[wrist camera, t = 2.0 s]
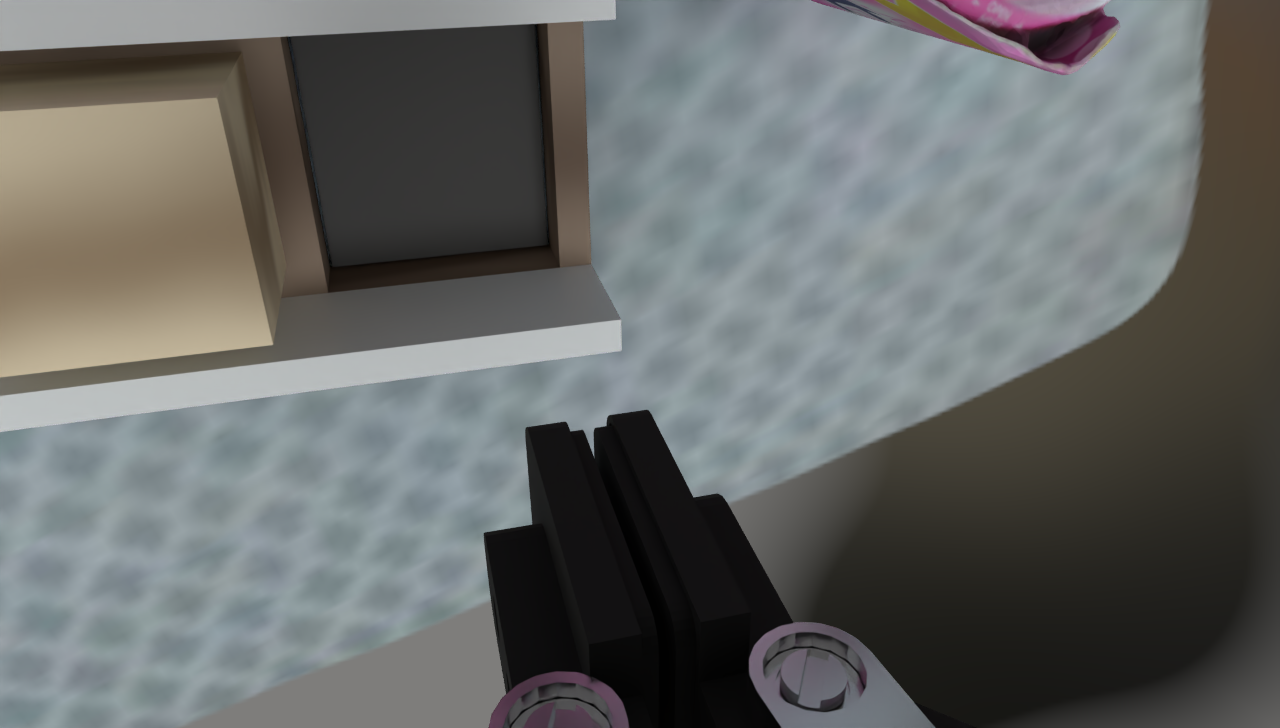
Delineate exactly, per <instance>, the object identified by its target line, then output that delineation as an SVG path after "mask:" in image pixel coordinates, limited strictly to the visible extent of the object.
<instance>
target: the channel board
mask: <svg viewBox="0 0 1280 728" xmlns="http://www.w3.org/2000/svg"><path fill="white" fill-rule="evenodd" d="M598 20H616V3H615V0H0V65H5V64H23V63H42V62H60V61H79V60H97V59H116V58H134V57H153V56H171V55H189V54H208V53H226V52H242V55H243V60H244V65H245V70H246V74H247V79H248V84H249V89H250V94H251V98H252V103H253V108H254V113H255V117H256V122H257V127H258V132H259V137H260V141H261V146H262V151H263V156H264V160H265V165H266V170H267V175H268V180H269V184H270V189H271V194H272V199H273V203H274V208H275V213H276V218H277V223H278V227H279V232H280V237H281V242H282V246H283V251H284V256H285V261H286V272H285V277H284V283H283V289H282V295H281V301H280V307H279V313H278V319H277V325H276V331H275V337H274V343H273V345H269V346H260V347H252V348H243V349H235V350H227V351H218V352H210V353H201V354H193V355H185V356H176V357H168V358H159V359H151V360H143V361H134V362H126V363H118V364H109V365H101V366H92V367H84V368H76V369H67V370H59V371H50V372H42V373H34V374H25V375H17V376H8V377H0V432H3V431H11V430H19V429H26V428H34V427H42V426H49V425H57V424H65V423H72V422H80V421H88V420H95V419H103V418H111V417H118V416H126V415H134V414H141V413H149V412H157V411H164V410H172V409H180V408H187V407H195V406H203V405H210V404H218V403H226V402H233V401H241V400H249V399H256V398H264V397H272V396H279V395H287V394H295V393H302V392H310V391H318V390H325V389H333V388H341V387H348V386H356V385H364V384H371V383H379V382H387V381H394V380H402V379H410V378H417V377H425V376H433V375H440V374H448V373H456V372H463V371H471V370H479V369H486V368H494V367H502V366H509V365H517V364H525V363H532V362H540V361H548V360H555V359H563V358H571V357H578V356H586V355H594V354H601V353H609V352H617V351H622V345H621V319H620V317H619V315H618V313H617V311H616V309H615V307H614V306H613V304H612V302H611V300H610V298H609V296H608V294H607V293H606V291H605V289H604V287H603V285H602V283H601V281H600V280H599V278H598V276H597V274H596V272H595V270H594V268H593V267H592V265H591V242H590V213H589V184H588V154H587V125H586V96H585V66H584V37H583V21H598ZM535 24H537V41H538V59H539V76H540V93H541V111H542V128H543V145H544V163H545V180H546V197H547V215H548V232H549V244H547V227H546V210H545V192H544V175H543V158H542V141H541V124H540V107H539V90H538V73H537V56H536V39H535ZM288 36H290V38H291V43H292V48H293V54H294V59H295V65H296V70H297V76H298V81H299V87H300V92H301V98H302V103H303V109H304V114H305V120H306V125H307V130H308V136H309V141H310V147H311V152H312V158H313V163H314V169H315V174H316V180H317V185H318V191H319V196H320V201H321V207H322V212H323V218H324V223H325V229H326V234H327V240H328V245H329V251H330V256H331V262H332V267H330V264H329V259H328V253H327V248H326V242H325V237H324V231H323V226H322V221H321V215H320V210H319V204H318V199H317V194H316V188H315V183H314V177H313V172H312V166H311V161H310V156H309V150H308V145H307V139H306V134H305V128H304V123H303V118H302V112H301V107H300V101H299V96H298V91H297V85H296V80H295V74H294V69H293V63H292V58H291V53H290V47H289V42H288Z"/></svg>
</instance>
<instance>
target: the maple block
mask: <svg viewBox="0 0 1280 728" xmlns="http://www.w3.org/2000/svg"><path fill="white" fill-rule="evenodd" d="M285 272H286V261H285V256H284V251H283V246H282V242H281V237H280V232H279V227H278V223H277V218H276V213H275V208H274V203H273V199H272V194H271V189H270V184H269V180H268V175H267V170H266V165H265V160H264V156H263V151H262V146H261V141H260V137H259V132H258V127H257V122H256V117H255V113H254V108H253V103H252V98H251V94H250V89H249V84H248V79H247V74H246V70H245V65H244V60H243V55H242V52H226V53H208V54H189V55H171V56H153V57H134V58H116V59H97V60H79V61H60V62H42V63H23V64H5V65H0V377H8V376H17V375H25V374H34V373H42V372H50V371H59V370H67V369H76V368H84V367H92V366H101V365H109V364H118V363H126V362H134V361H143V360H151V359H159V358H168V357H176V356H185V355H193V354H201V353H210V352H218V351H227V350H235V349H243V348H252V347H260V346H269V345H273V343H274V337H275V331H276V325H277V319H278V313H279V307H280V301H281V295H282V289H283V283H284V277H285Z"/></svg>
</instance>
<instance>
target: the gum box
mask: <svg viewBox="0 0 1280 728" xmlns="http://www.w3.org/2000/svg"><path fill="white" fill-rule="evenodd" d="M811 1H814V2H817V3H820V4H824V5H827V6H830V7H834V8H837V9H840V10H844V11H847V12H850V13H854V14H857V15H860V16H864V17H867V18H871V19H874V20H877V21H881V22H884V23H888V24H891V25H894V26H898V27H901V28H905V29H908V30H911V31H915V32H918V33H922V34H925V35H929V36H932V37H936V38H939V39H943V40H946V41H950V42H953V43H957V44H960V45H964V46H967V47H971V48H974V49H978V50H981V51H985V52H988V53H992V54H995V55H998V56H1002V57H1005V58H1008V59H1012V60H1015V61H1019V62H1022V63H1025V64H1028V65H1031V66H1034V67H1037V68H1040V69H1043V70H1046V71H1049V72H1053V73H1057V74H1061V75H1068V74H1071V73H1073V72H1076V71H1078V70H1079V69H1080V68H1081V67H1082V66H1083V65H1085V64H1086V63H1087V62H1088V61H1089V60H1090V59H1091V58H1092V57H1094V56H1095V55H1096V54H1097V53H1098V52H1099V51H1100V50H1101V49H1103V48H1104V47H1105V46H1106V45H1107V44H1108V43H1109V42H1110V40H1111V39H1112V38H1113V37H1114V36H1115V35H1116V33H1117V31H1118V30H1119V28H1120V23H1119V21H1118V20H1117V19H1116V18H1115V17H1107V16H1106V15H1105V13H1104V10H1103V8H1104V6H1105V5H1106V4H1107V3H1108V2H1109V1H1110V0H811Z"/></svg>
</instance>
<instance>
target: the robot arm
mask: <svg viewBox="0 0 1280 728" xmlns="http://www.w3.org/2000/svg"><path fill="white" fill-rule="evenodd" d="M525 436H526V450H527V462H528V475H529V487H530V499H531V512H532V524H533V525H527V526H522V527H516V528H510V529H504V530H498V531H492V532H486V533H484V544H485V553H486V562H487V571H488V579H489V588H490V595H491V603H492V610H493V616H494V624H495V630H496V636H497V643H498V648H499V654H500V660H501V666H502V672H503V678H504V683H505V689H506V695H505V696H504V697H503V698H502V699H501V700H500V702H499V703H498V705H497V707H496V708H495V710H494V712H493V713H492V715H491V720H490V724H489V728H976V727H974V726H971V725H969V724H966V723H964V722H961V721H959V720H957V719H954V718H952V717H949V716H947V715H944V714H942V713H939V712H937V711H934V710H932V709H929V708H927V707H924V706H922V705H920V704H917V703H915V702H913V701H912V700H911V699H910V697H909V696H908V695H907V694H906V693H905V692H904V690H903V689H902V688H901V687H900V686H899V685H898V683H897V682H896V681H895V680H894V679H893V677H892V676H891V675H890V674H889V673H888V671H887V670H886V669H885V668H884V667H883V666H882V664H881V663H880V662H879V661H878V660H877V658H876V657H875V656H874V655H873V654H872V653H871V651H870V650H869V649H867V648H866V647H865V646H864V645H863V644H862V643H861V642H860V641H859V640H857V639H856V638H855V637H853V636H851V635H849V634H848V633H846V632H844V631H842V630H840V629H838V628H835V627H831V626H827V625H824V624H820V623H805V622H804V623H803V622H798V623H793V621H792V619H791V618H790V616H789V614H788V612H787V610H786V608H785V607H784V605H783V603H782V601H781V600H780V598H779V596H778V594H777V592H776V590H775V589H774V587H773V585H772V583H771V582H770V579H769V578H768V576H767V574H766V572H765V570H764V569H763V567H762V565H761V563H760V561H759V560H758V558H757V556H756V554H755V552H754V551H753V549H752V547H751V545H750V543H749V541H748V540H747V538H746V536H745V534H744V533H743V531H742V529H741V527H740V525H739V523H738V522H737V520H736V518H735V516H734V514H733V513H732V511H731V509H730V507H729V505H728V503H727V502H726V501H725V499H724V498H723V496H721V495H719V494H712V495H706V496H700V497H694V498H693V496H692V494H691V492H690V490H689V488H688V486H687V484H686V482H685V480H684V478H683V476H682V474H681V472H680V470H679V468H678V466H677V464H676V462H675V460H674V458H673V456H672V454H671V452H670V450H669V448H668V446H667V444H666V442H665V440H664V438H663V436H662V435H661V433H660V431H659V429H658V427H657V425H656V423H655V421H654V419H653V417H652V415H651V413H650V412H649V411H648V410H642V411H636V412H629V413H622V414H615V415H609V416H608V418H607V426H605V427H599V428H595V429H594V456H593V454H592V451H591V448H590V446H589V443H588V440H587V438H586V435H585V433H584V431H583V430H578V431H572V432H570V429H569V427H568V424H567V422H560V423H553V424H546V425H539V426H532V427H526V430H525ZM594 457H595V459H594Z"/></svg>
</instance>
